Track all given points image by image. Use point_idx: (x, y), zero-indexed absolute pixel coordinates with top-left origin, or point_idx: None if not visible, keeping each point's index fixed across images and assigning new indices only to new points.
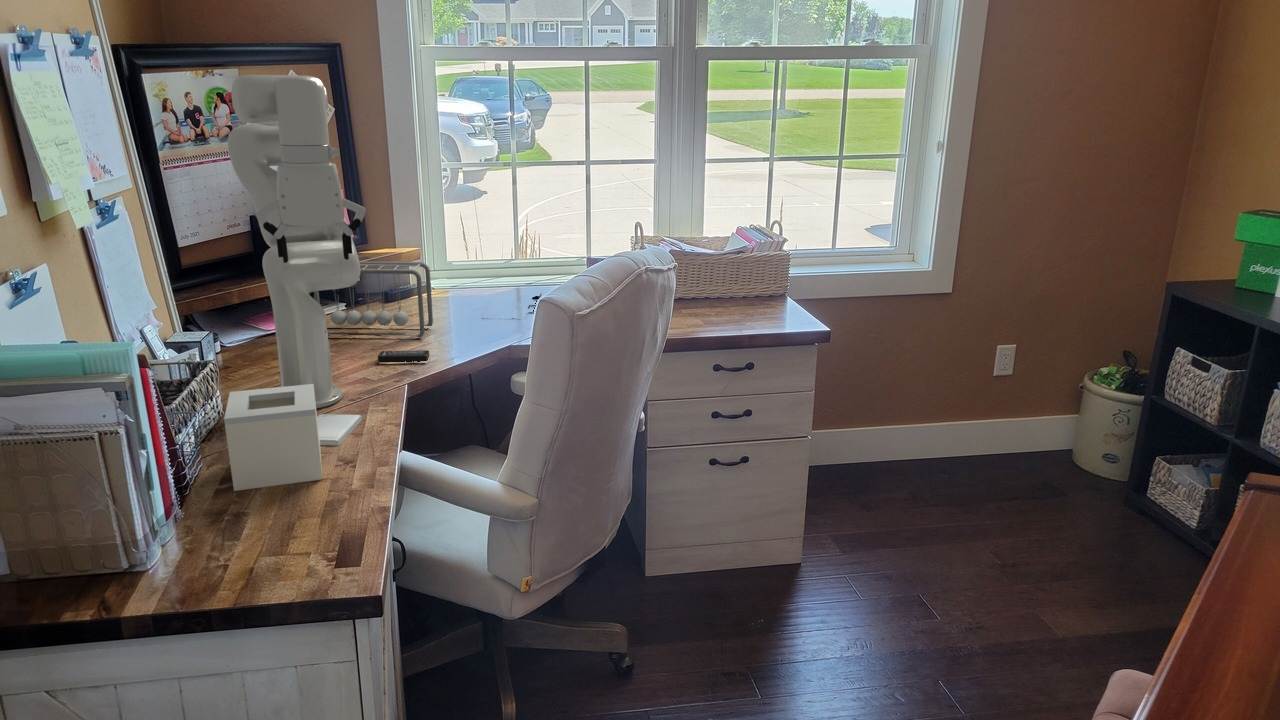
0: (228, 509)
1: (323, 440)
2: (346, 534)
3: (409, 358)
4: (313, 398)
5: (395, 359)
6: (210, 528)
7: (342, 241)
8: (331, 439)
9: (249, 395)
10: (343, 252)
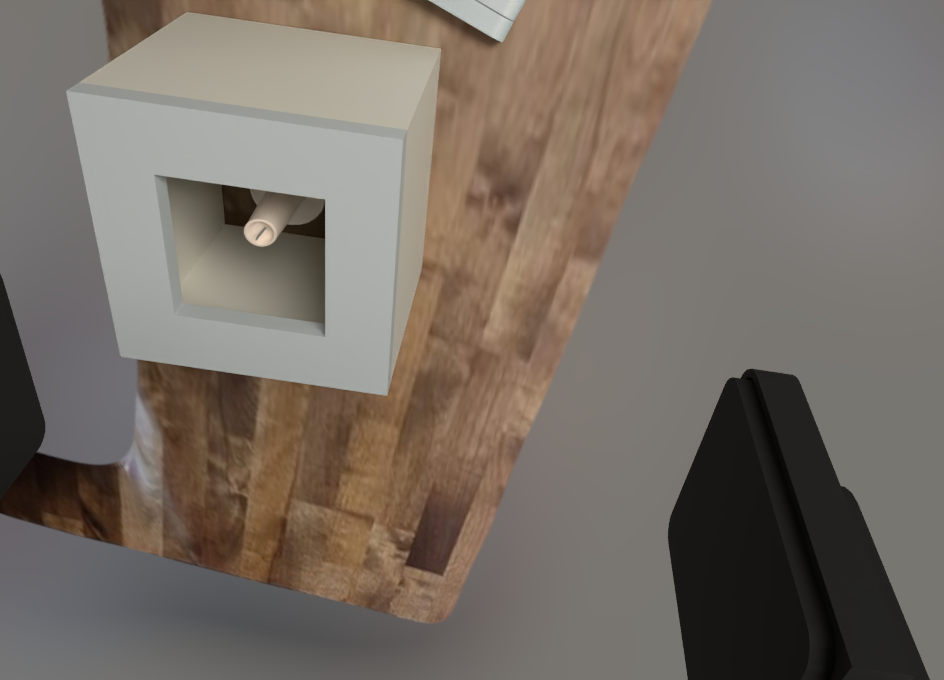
0: None
1: (455, 14)
2: (437, 496)
3: None
4: (389, 305)
5: None
6: (192, 380)
7: (755, 598)
8: (481, 24)
9: (156, 171)
10: (721, 464)
